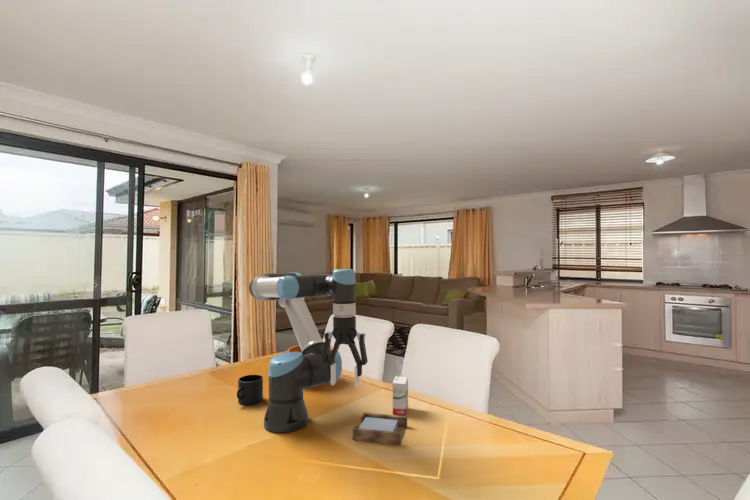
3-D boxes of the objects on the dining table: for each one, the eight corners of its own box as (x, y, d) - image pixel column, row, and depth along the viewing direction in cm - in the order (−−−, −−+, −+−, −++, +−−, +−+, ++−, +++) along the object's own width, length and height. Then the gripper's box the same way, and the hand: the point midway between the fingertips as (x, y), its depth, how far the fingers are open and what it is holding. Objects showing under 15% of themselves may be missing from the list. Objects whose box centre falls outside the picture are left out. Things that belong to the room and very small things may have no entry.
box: (352, 441, 117) (352, 429, 117) (364, 423, 130) (364, 412, 130) (400, 447, 114) (400, 434, 114) (407, 427, 126) (407, 416, 126)
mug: (228, 405, 147) (227, 382, 147) (250, 395, 158) (250, 373, 158) (246, 409, 143) (246, 385, 143) (267, 398, 154) (267, 376, 154)
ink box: (405, 417, 135) (405, 384, 135) (392, 416, 136) (391, 383, 136) (408, 407, 143) (408, 376, 143) (395, 406, 144) (395, 375, 144)
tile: (358, 437, 119) (358, 428, 119) (365, 424, 128) (365, 416, 128) (392, 441, 116) (392, 432, 116) (397, 427, 125) (397, 420, 125)
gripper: (311, 316, 124) (311, 386, 124) (371, 318, 119) (372, 391, 119) (320, 313, 131) (320, 379, 131) (377, 314, 126) (377, 383, 126)
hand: (345, 384), depth 125 cm, fingers open, 8 cm apart
